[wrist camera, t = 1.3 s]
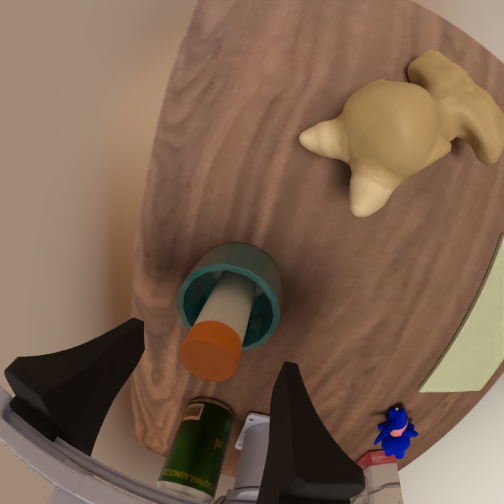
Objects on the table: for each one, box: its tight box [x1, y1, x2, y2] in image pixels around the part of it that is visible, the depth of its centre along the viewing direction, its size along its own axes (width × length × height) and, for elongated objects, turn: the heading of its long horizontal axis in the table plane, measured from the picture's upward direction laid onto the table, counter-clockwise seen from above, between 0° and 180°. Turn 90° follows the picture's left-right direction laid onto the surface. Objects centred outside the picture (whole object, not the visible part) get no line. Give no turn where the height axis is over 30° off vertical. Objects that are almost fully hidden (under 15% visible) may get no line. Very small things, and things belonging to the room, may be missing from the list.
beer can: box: [157, 398, 234, 504], centre depth 21 cm, size 5×5×12 cm
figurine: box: [374, 407, 418, 459], centre depth 22 cm, size 5×8×5 cm, turn 33°
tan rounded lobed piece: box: [299, 49, 504, 217], centre depth 12 cm, size 8×7×12 cm
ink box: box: [350, 450, 403, 504], centre depth 23 cm, size 9×5×12 cm, turn 171°
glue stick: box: [179, 271, 256, 381], centre depth 16 cm, size 3×3×8 cm
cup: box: [177, 242, 282, 351], centre depth 18 cm, size 6×6×4 cm
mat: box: [418, 233, 504, 392], centre depth 18 cm, size 18×12×1 cm, turn 168°
